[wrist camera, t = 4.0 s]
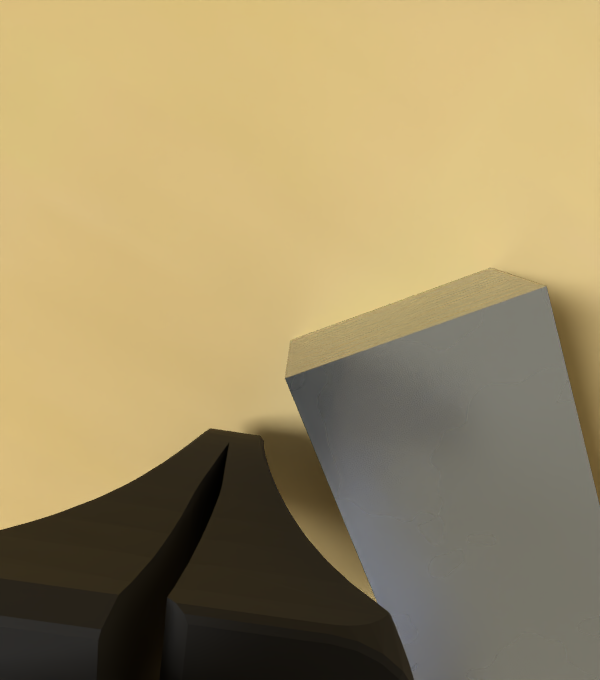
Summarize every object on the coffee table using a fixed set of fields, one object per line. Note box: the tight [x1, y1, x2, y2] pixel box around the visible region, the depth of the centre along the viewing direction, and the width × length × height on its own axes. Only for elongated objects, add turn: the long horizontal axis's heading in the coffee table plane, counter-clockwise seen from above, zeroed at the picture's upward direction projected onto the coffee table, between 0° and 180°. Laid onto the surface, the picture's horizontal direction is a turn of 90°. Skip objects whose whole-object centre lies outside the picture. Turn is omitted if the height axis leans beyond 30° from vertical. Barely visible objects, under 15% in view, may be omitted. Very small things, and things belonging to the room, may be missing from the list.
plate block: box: [285, 268, 600, 680], centre depth 11 cm, size 10×5×3 cm, turn 21°
